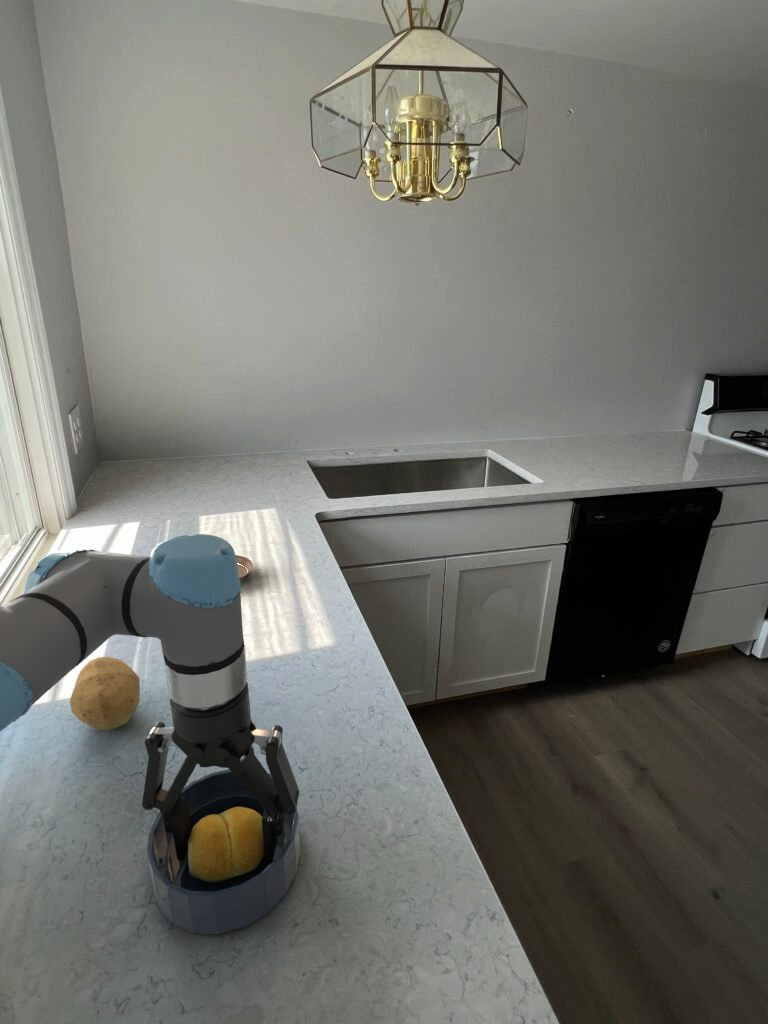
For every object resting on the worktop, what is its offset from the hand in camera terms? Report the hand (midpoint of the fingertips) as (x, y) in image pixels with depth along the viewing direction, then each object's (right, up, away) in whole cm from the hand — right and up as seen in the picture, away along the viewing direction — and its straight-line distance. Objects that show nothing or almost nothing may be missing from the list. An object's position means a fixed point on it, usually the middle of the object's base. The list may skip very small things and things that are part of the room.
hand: (228, 850), depth 63 cm
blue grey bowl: (0, -2, +1) cm, 2 cm away
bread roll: (0, 0, 0) cm, 0 cm away
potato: (-24, +7, +23) cm, 34 cm away
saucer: (-20, +23, +67) cm, 73 cm away
